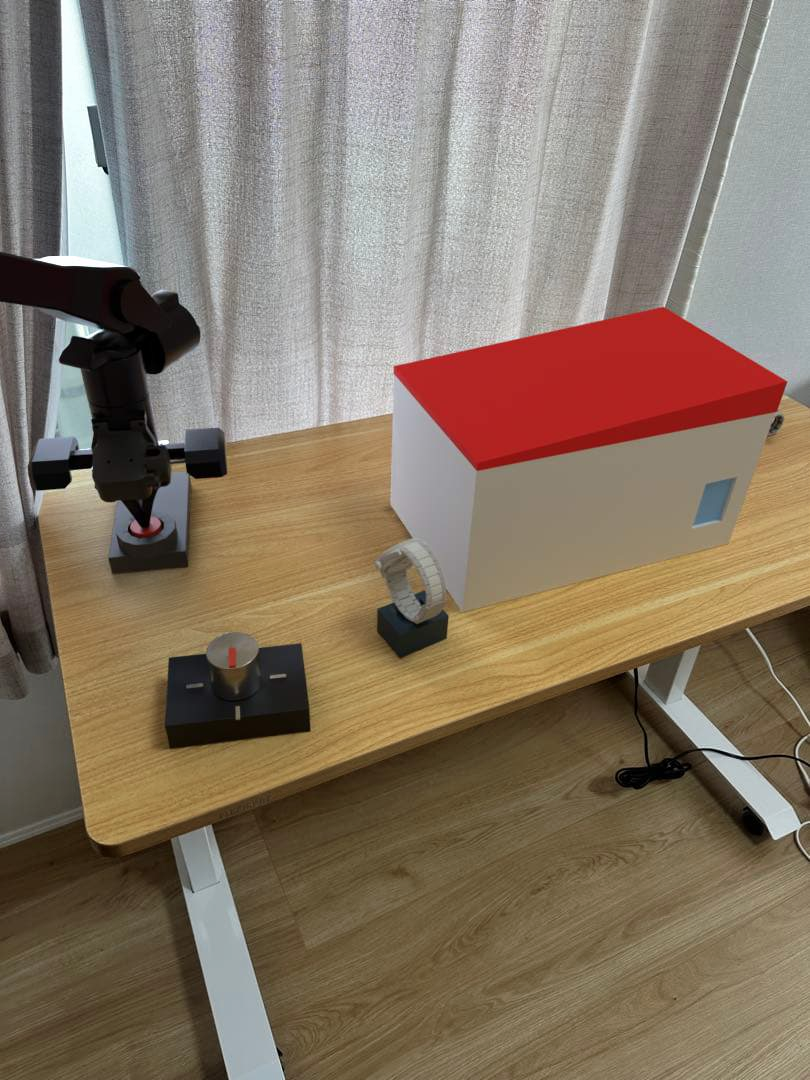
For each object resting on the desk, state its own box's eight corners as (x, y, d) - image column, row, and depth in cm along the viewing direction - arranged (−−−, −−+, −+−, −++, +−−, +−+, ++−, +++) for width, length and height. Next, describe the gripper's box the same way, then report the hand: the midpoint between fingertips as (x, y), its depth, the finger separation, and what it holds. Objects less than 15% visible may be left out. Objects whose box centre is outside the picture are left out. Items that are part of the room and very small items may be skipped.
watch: (413, 601, 84) (417, 517, 78) (456, 649, 79) (465, 562, 72) (366, 620, 82) (366, 534, 75) (408, 670, 77) (412, 582, 70)
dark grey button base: (188, 570, 87) (183, 541, 85) (111, 577, 86) (104, 547, 84) (191, 486, 100) (187, 458, 98) (124, 490, 99) (118, 463, 96)
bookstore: (731, 543, 94) (789, 381, 82) (462, 612, 83) (480, 437, 71) (629, 454, 110) (665, 306, 97) (389, 503, 98) (394, 343, 86)
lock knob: (211, 666, 72) (206, 631, 70) (261, 661, 73) (257, 626, 70) (210, 703, 69) (204, 668, 66) (263, 697, 70) (259, 663, 67)
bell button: (162, 545, 87) (160, 532, 85) (131, 548, 86) (128, 535, 85) (164, 527, 89) (161, 515, 88) (133, 530, 88) (131, 517, 87)
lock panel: (169, 752, 68) (164, 727, 66) (173, 677, 75) (168, 653, 73) (311, 734, 70) (309, 710, 68) (302, 662, 77) (301, 639, 75)
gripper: (-3, 443, 69) (41, 582, 79) (218, 429, 72) (235, 564, 82) (20, 384, 78) (58, 515, 87) (218, 374, 81) (233, 502, 90)
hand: (145, 525), depth 86 cm, fingers closed, pressing on bell button
